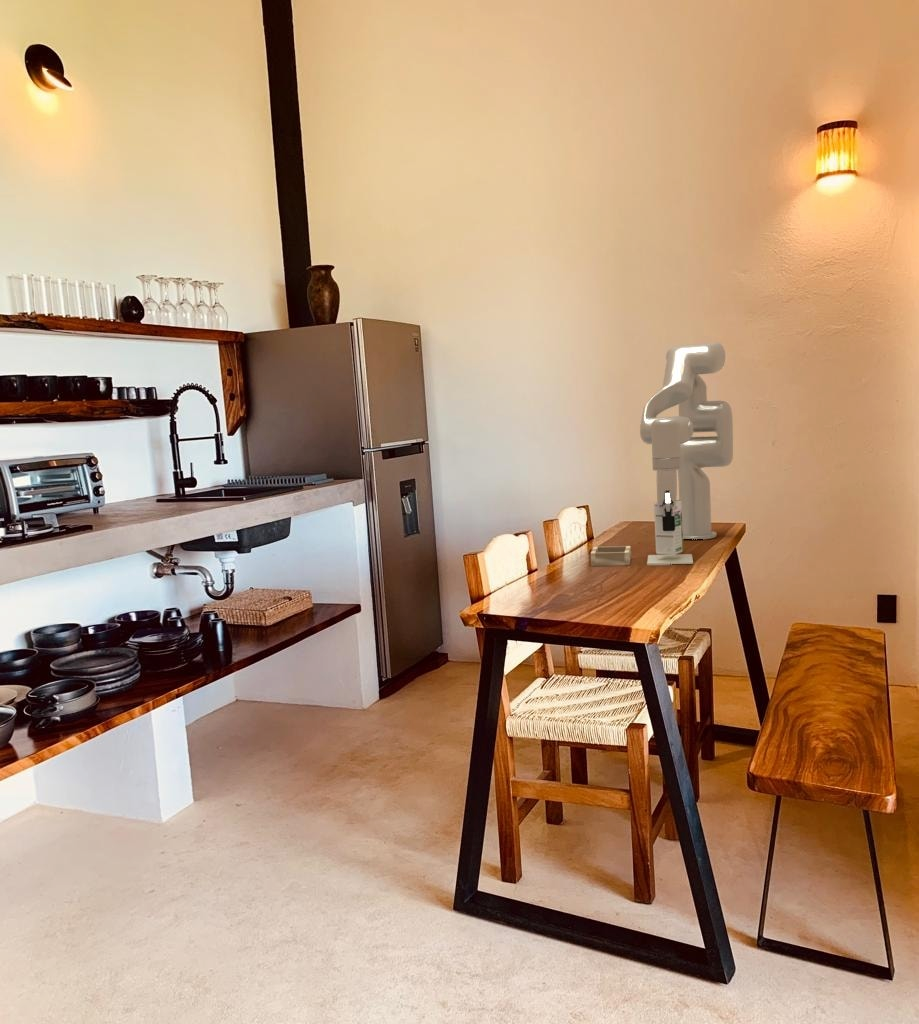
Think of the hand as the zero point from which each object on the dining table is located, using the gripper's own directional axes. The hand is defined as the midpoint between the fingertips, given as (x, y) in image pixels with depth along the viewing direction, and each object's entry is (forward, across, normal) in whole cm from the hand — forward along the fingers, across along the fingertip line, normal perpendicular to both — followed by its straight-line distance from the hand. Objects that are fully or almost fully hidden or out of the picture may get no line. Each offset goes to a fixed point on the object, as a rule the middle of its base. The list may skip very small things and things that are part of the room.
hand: (668, 528), depth 235 cm
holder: (+9, 0, -16) cm, 18 cm away
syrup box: (+7, 0, 0) cm, 7 cm away
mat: (+9, 0, 0) cm, 9 cm away
